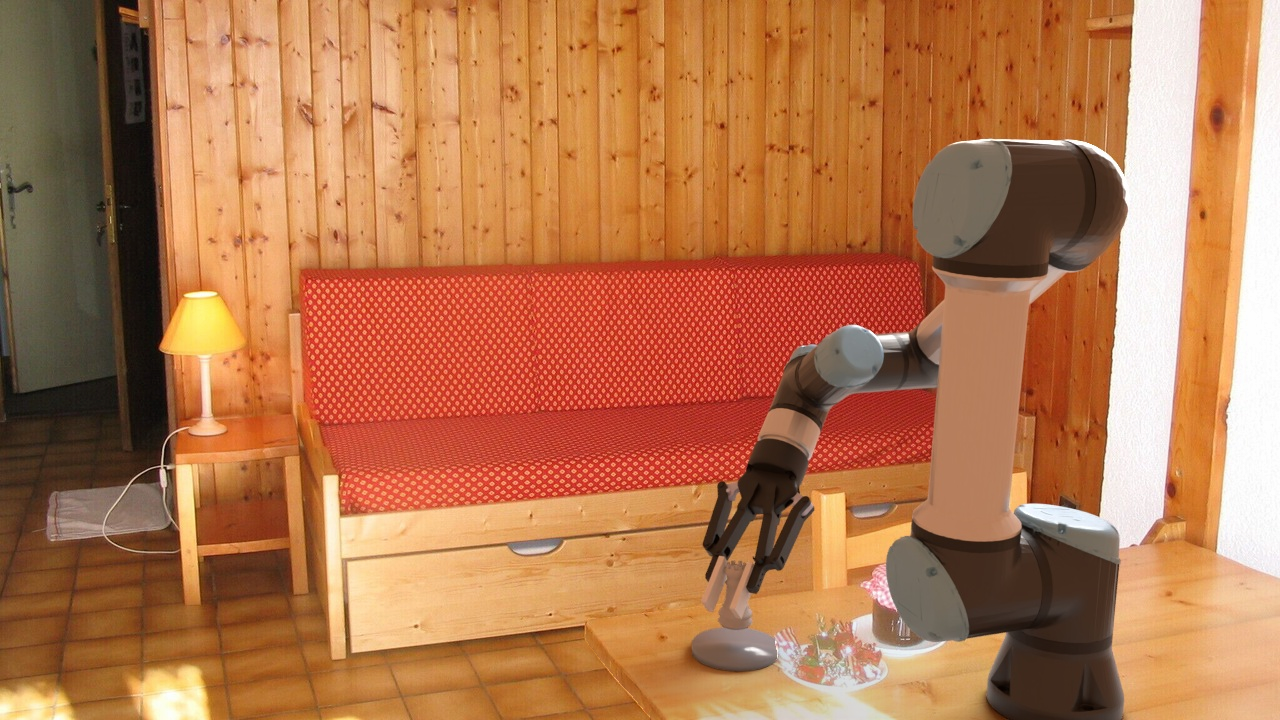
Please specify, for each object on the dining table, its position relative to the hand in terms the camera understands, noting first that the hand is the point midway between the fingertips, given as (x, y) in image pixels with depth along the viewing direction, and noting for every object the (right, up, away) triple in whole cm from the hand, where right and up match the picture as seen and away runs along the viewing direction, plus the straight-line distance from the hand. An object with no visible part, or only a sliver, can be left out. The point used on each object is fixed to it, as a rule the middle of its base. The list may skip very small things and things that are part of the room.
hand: (721, 609), depth 157 cm
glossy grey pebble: (+2, -6, +4) cm, 8 cm away
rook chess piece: (+2, -3, +4) cm, 5 cm away
